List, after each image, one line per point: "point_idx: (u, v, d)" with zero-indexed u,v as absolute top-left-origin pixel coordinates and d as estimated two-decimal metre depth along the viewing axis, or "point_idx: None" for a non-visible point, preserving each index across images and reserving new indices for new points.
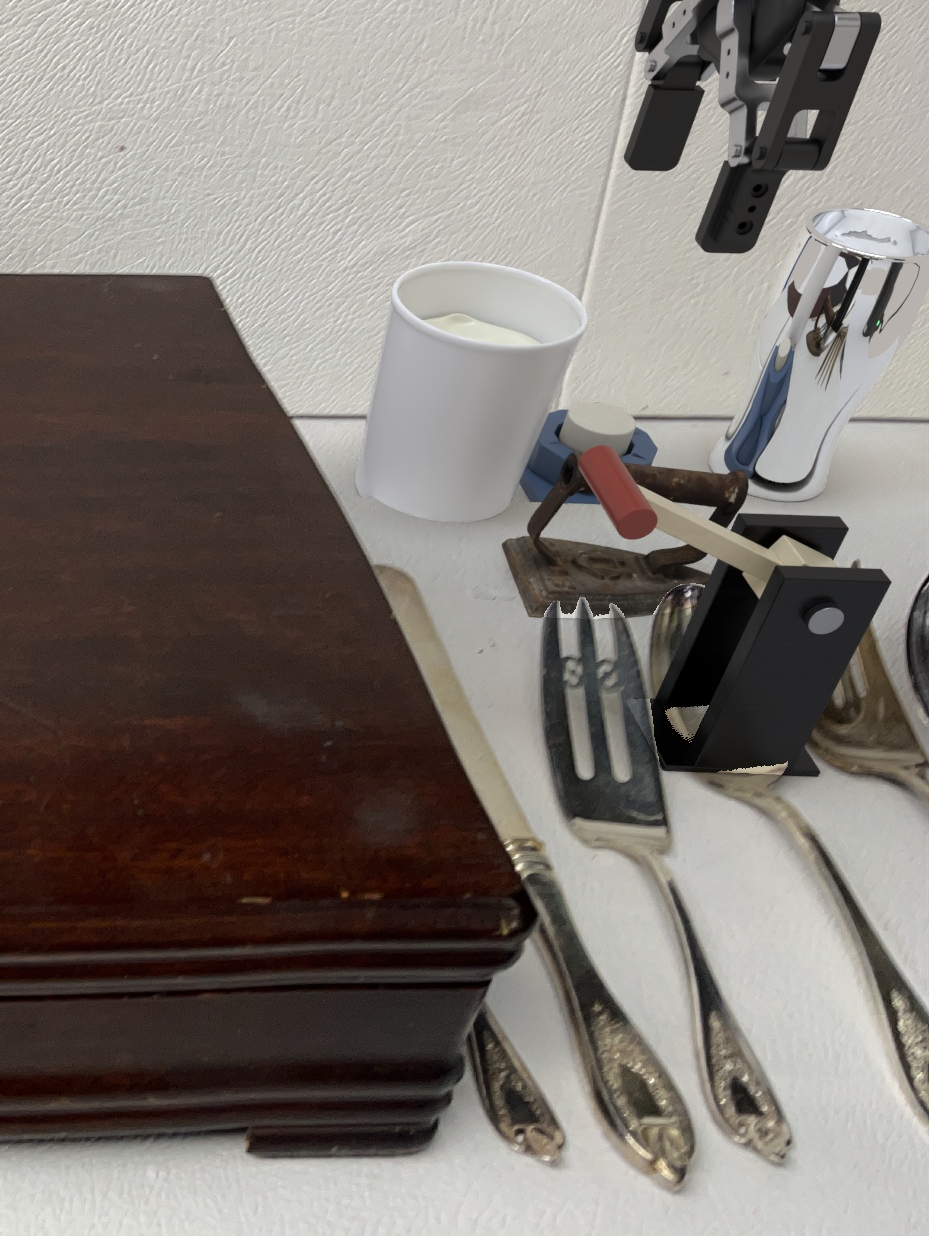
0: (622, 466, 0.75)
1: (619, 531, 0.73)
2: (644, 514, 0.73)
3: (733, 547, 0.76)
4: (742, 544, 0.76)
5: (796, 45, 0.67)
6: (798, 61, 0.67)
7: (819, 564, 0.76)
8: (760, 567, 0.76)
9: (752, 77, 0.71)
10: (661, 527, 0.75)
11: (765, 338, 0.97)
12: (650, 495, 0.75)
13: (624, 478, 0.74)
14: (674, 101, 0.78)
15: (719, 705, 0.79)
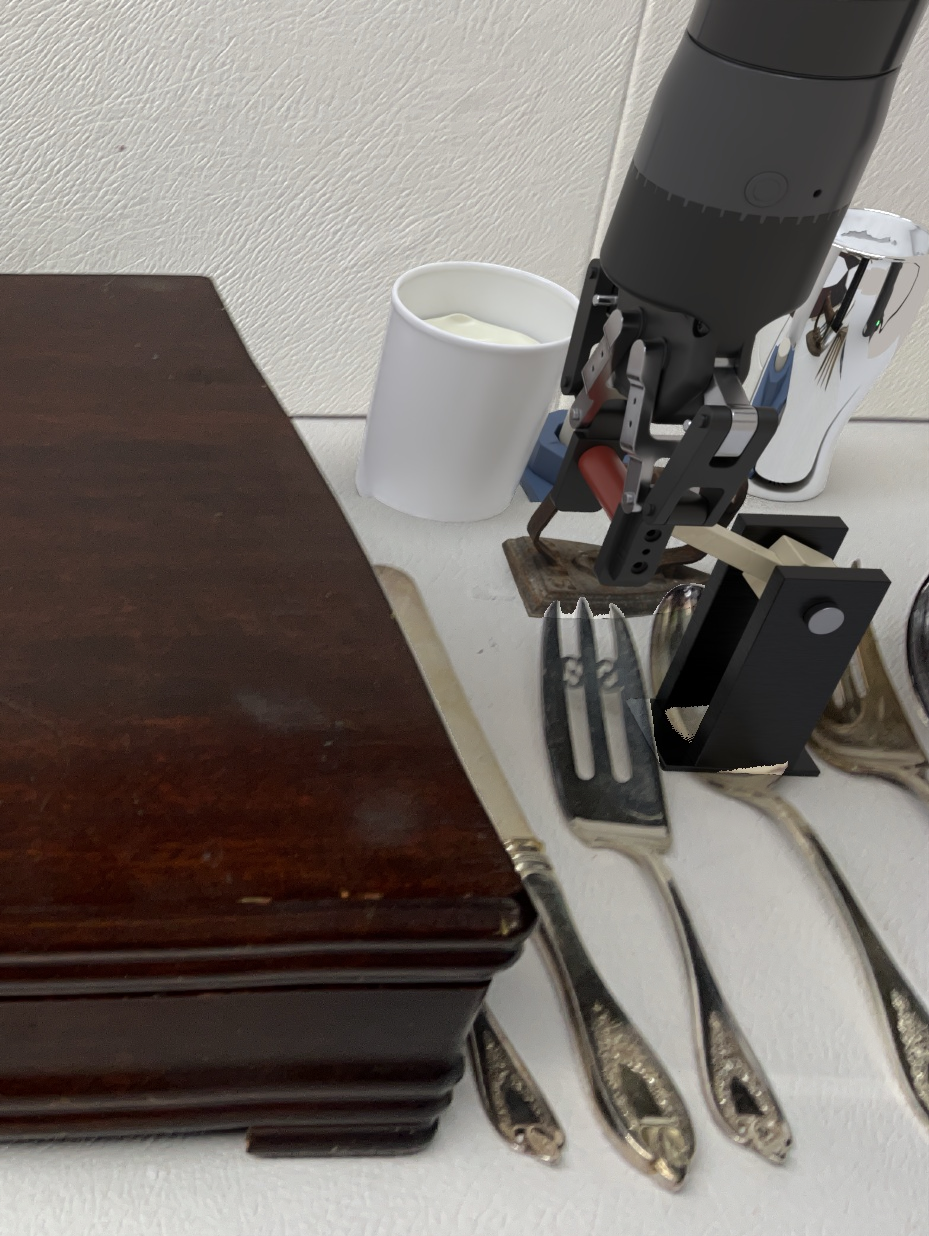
0: (622, 466, 0.75)
1: None
2: None
3: (733, 547, 0.76)
4: (742, 544, 0.76)
5: (693, 431, 0.67)
6: (692, 449, 0.67)
7: (819, 564, 0.76)
8: (760, 567, 0.76)
9: (665, 423, 0.70)
10: None
11: (765, 338, 0.97)
12: None
13: (624, 478, 0.74)
14: None
15: (719, 705, 0.79)
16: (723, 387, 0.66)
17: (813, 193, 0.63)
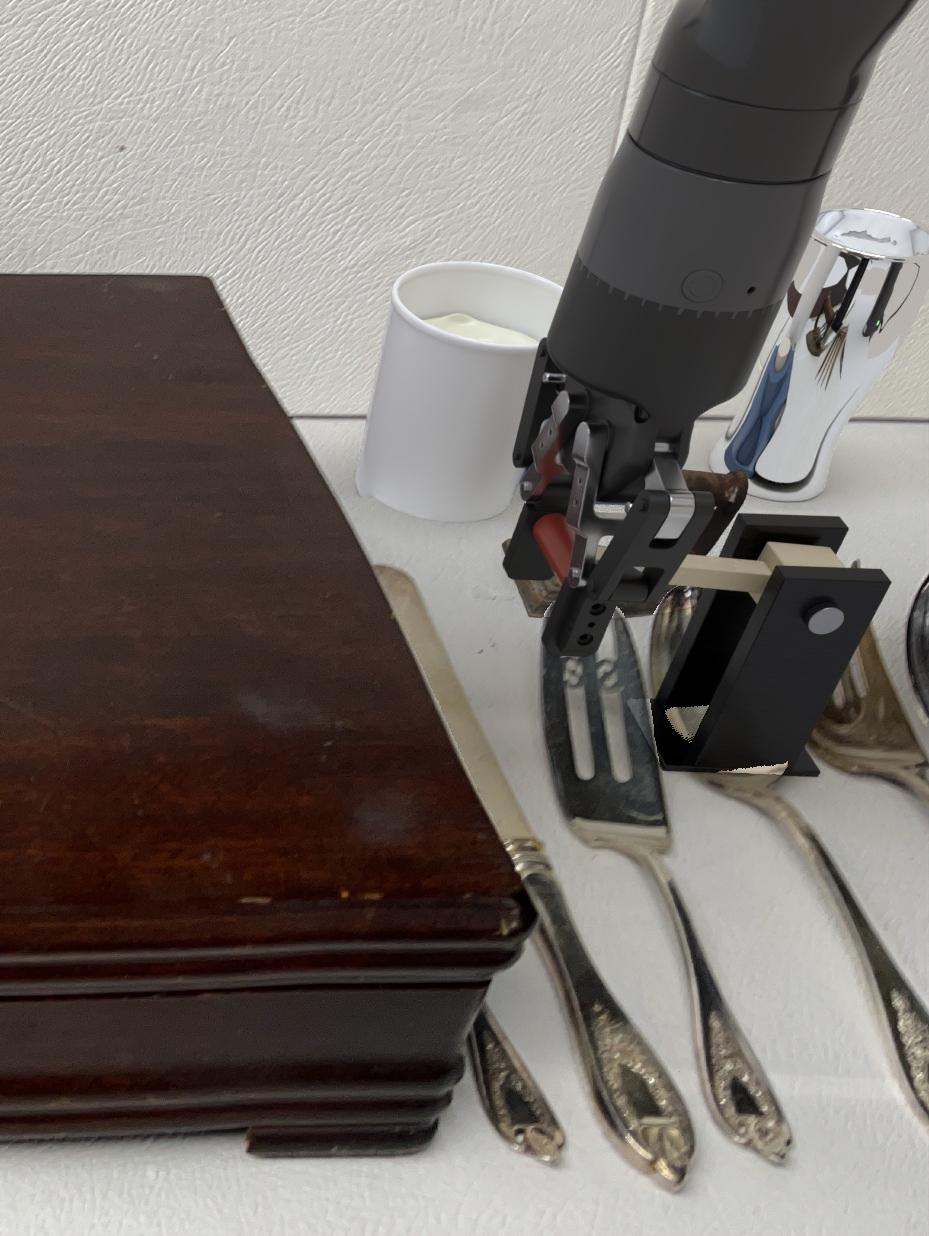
0: (568, 533, 0.78)
1: None
2: None
3: (710, 574, 0.77)
4: (718, 569, 0.77)
5: (634, 514, 0.69)
6: (633, 531, 0.69)
7: (809, 563, 0.76)
8: (748, 582, 0.77)
9: (609, 502, 0.73)
10: None
11: None
12: None
13: (569, 547, 0.77)
14: None
15: (719, 705, 0.79)
16: (662, 472, 0.69)
17: (747, 290, 0.65)
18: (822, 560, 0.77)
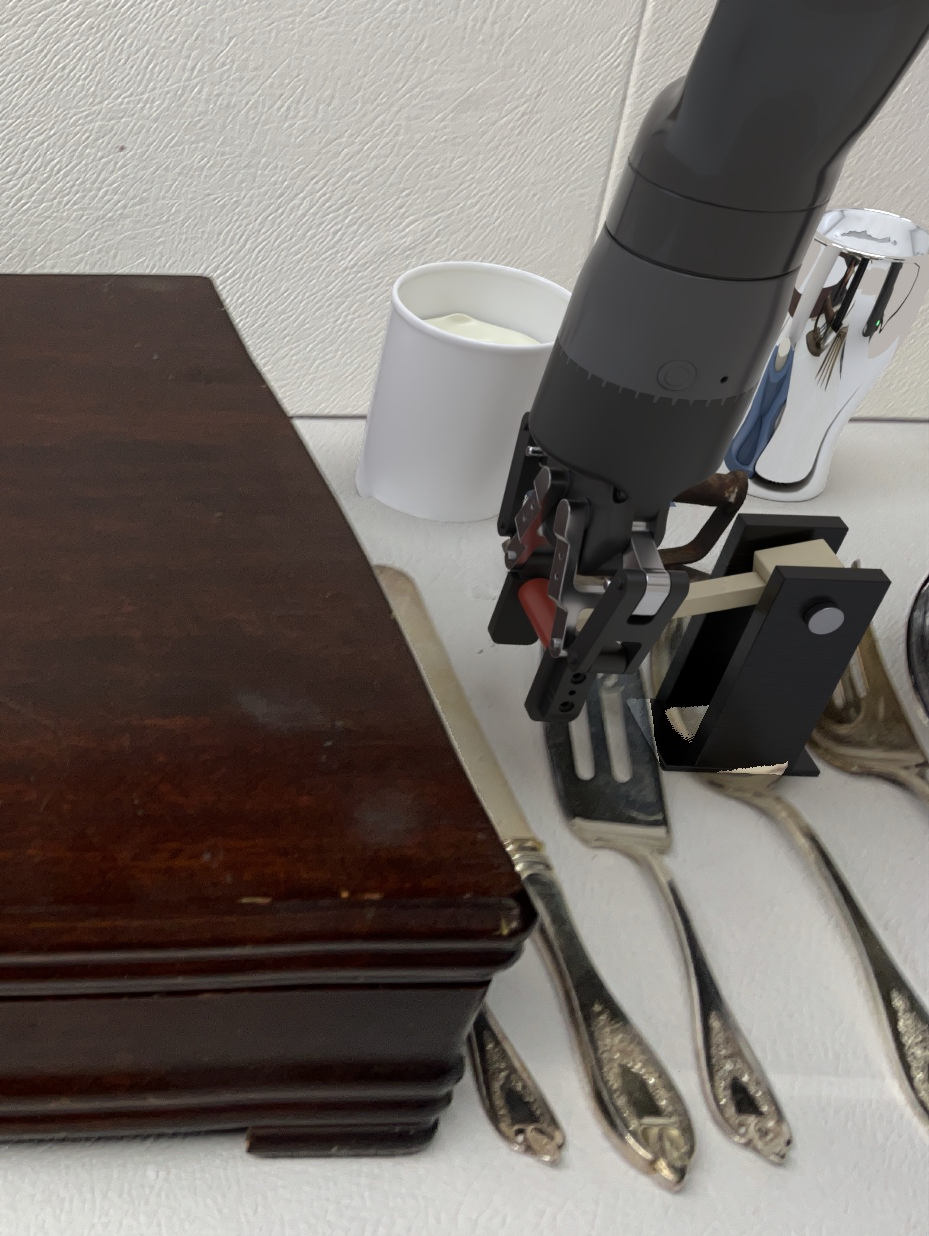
0: (545, 599, 0.80)
1: None
2: None
3: (699, 601, 0.78)
4: (705, 594, 0.78)
5: (612, 591, 0.71)
6: (611, 608, 0.71)
7: (798, 565, 0.76)
8: (743, 598, 0.77)
9: (589, 576, 0.75)
10: None
11: None
12: (584, 610, 0.79)
13: (546, 615, 0.79)
14: None
15: (719, 705, 0.79)
16: (639, 551, 0.71)
17: (720, 379, 0.68)
18: (813, 557, 0.76)
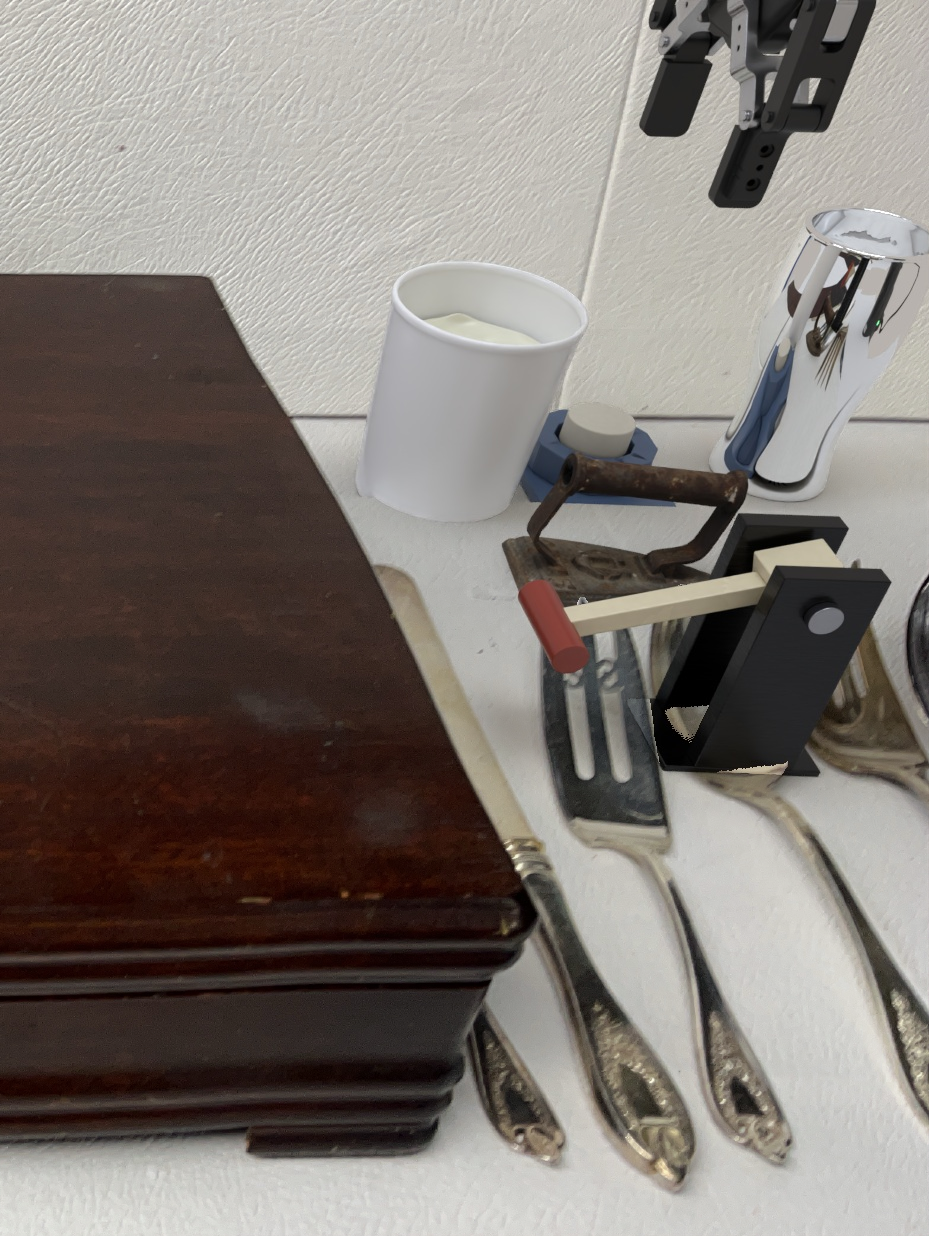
0: (545, 601, 0.80)
1: (560, 672, 0.78)
2: (567, 652, 0.77)
3: (699, 602, 0.78)
4: (705, 595, 0.78)
5: (801, 21, 0.76)
6: (803, 35, 0.76)
7: (798, 565, 0.76)
8: (743, 598, 0.77)
9: (759, 50, 0.80)
10: (616, 628, 0.79)
11: (765, 338, 0.97)
12: (584, 611, 0.79)
13: (546, 617, 0.79)
14: (685, 73, 0.87)
15: (719, 705, 0.79)
16: None
17: None
18: (812, 557, 0.76)
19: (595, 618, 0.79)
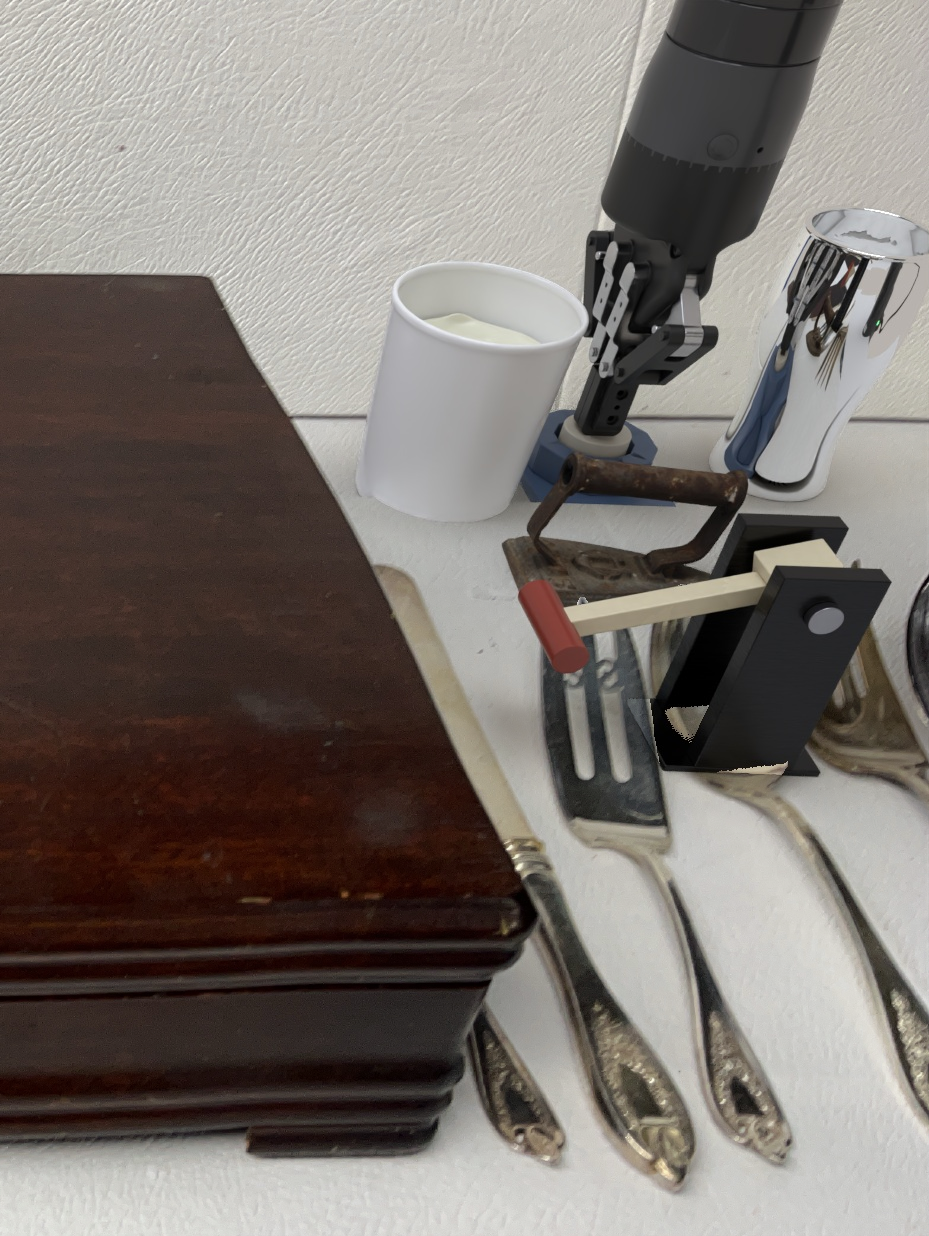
0: (545, 601, 0.80)
1: (560, 672, 0.78)
2: (567, 652, 0.77)
3: (699, 602, 0.78)
4: (705, 595, 0.78)
5: (657, 338, 0.91)
6: (653, 351, 0.92)
7: (798, 565, 0.76)
8: (743, 598, 0.77)
9: (650, 326, 0.94)
10: (616, 628, 0.79)
11: (765, 338, 0.97)
12: (584, 611, 0.79)
13: (546, 617, 0.79)
14: None
15: (719, 705, 0.79)
16: (685, 307, 0.90)
17: (757, 150, 0.86)
18: (812, 557, 0.76)
19: (595, 618, 0.79)
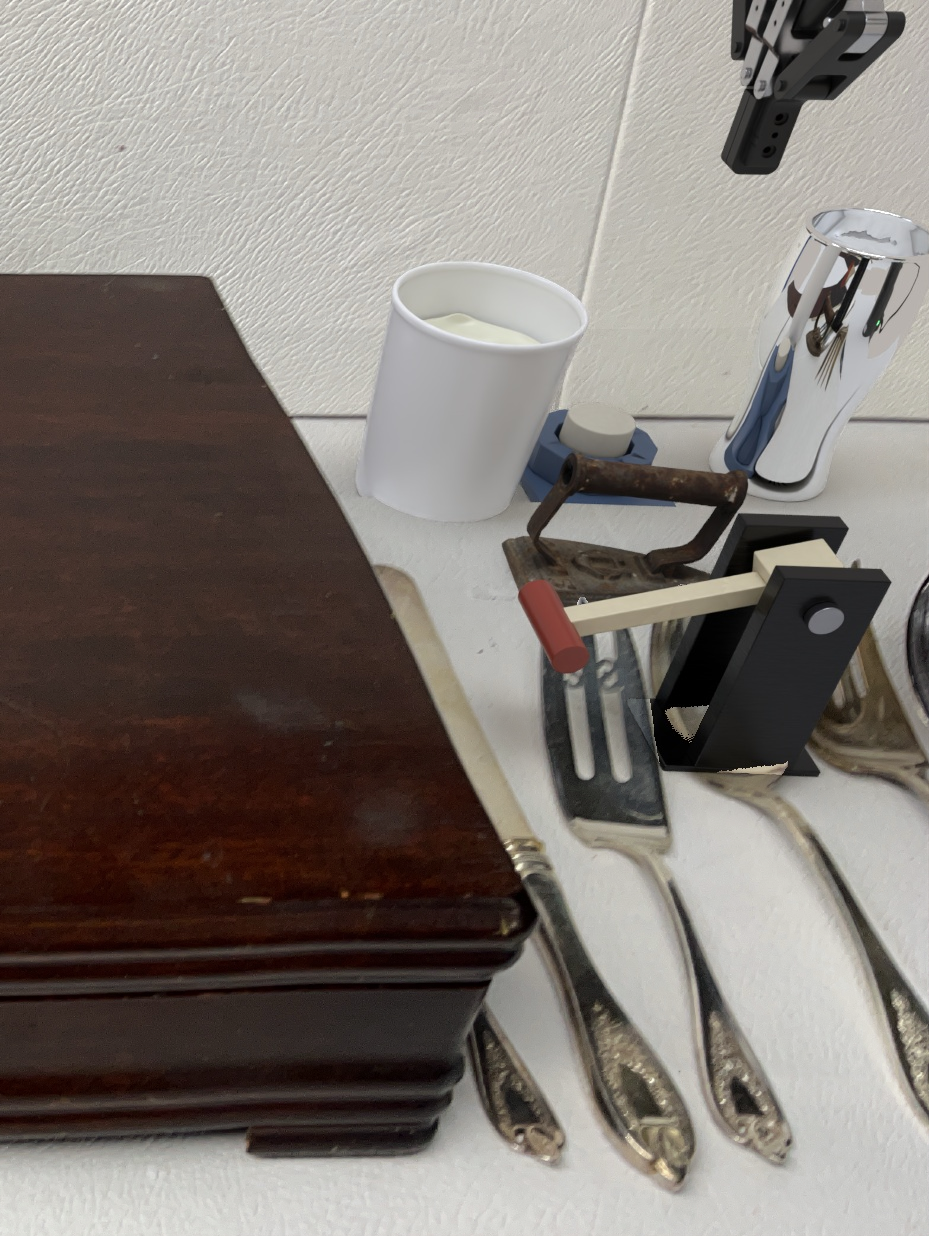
0: (545, 601, 0.80)
1: (560, 672, 0.78)
2: (567, 652, 0.77)
3: (699, 602, 0.78)
4: (705, 595, 0.78)
5: (830, 31, 0.78)
6: (826, 47, 0.79)
7: (798, 565, 0.76)
8: (743, 598, 0.77)
9: (818, 26, 0.81)
10: (616, 628, 0.79)
11: (765, 338, 0.97)
12: (584, 611, 0.79)
13: (546, 617, 0.79)
14: None
15: (719, 705, 0.79)
16: None
17: None
18: (812, 557, 0.76)
19: (595, 618, 0.79)
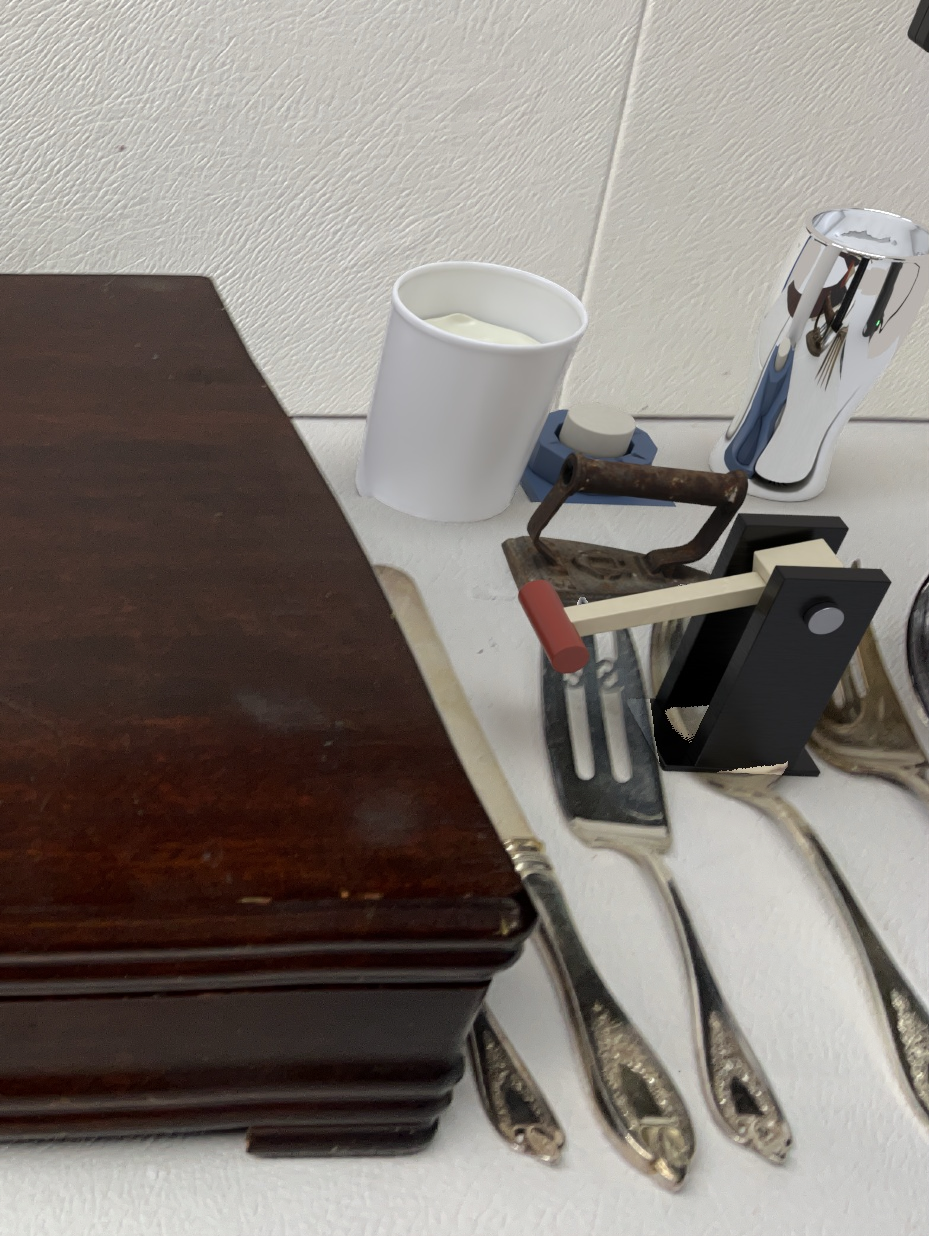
0: (545, 601, 0.80)
1: (560, 672, 0.78)
2: (567, 652, 0.77)
3: (699, 602, 0.78)
4: (705, 595, 0.78)
5: None
6: None
7: (798, 565, 0.76)
8: (743, 598, 0.77)
9: None
10: (616, 628, 0.79)
11: (765, 338, 0.97)
12: (584, 611, 0.79)
13: (546, 617, 0.79)
14: None
15: (719, 705, 0.79)
16: None
17: None
18: (812, 557, 0.76)
19: (595, 618, 0.79)
